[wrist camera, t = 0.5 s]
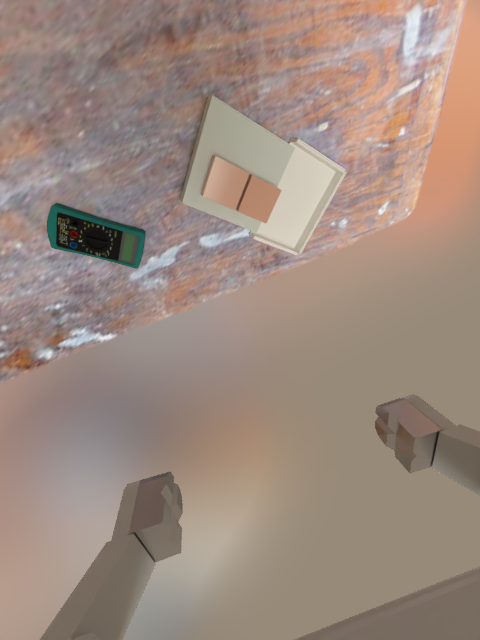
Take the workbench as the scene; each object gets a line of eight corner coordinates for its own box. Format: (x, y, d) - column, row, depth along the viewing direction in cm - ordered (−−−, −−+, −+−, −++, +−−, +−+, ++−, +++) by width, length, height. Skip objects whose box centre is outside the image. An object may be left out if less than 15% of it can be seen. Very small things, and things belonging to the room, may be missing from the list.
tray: (290, 137, 43) (298, 138, 41) (338, 169, 49) (347, 171, 46) (248, 234, 52) (253, 238, 49) (293, 251, 57) (299, 256, 55)
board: (207, 98, 37) (212, 94, 34) (285, 146, 44) (294, 147, 41) (180, 198, 44) (182, 203, 41) (250, 226, 51) (256, 232, 48)
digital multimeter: (51, 200, 40) (45, 204, 37) (146, 230, 46) (146, 235, 44) (51, 242, 43) (45, 248, 41) (139, 264, 50) (138, 270, 48)
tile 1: (248, 173, 41) (252, 174, 39) (276, 187, 44) (281, 190, 42) (234, 208, 44) (237, 211, 42) (262, 220, 47) (266, 223, 45)
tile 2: (212, 154, 38) (215, 155, 36) (245, 171, 41) (249, 173, 39) (200, 193, 41) (202, 196, 39) (232, 207, 44) (235, 210, 42)
